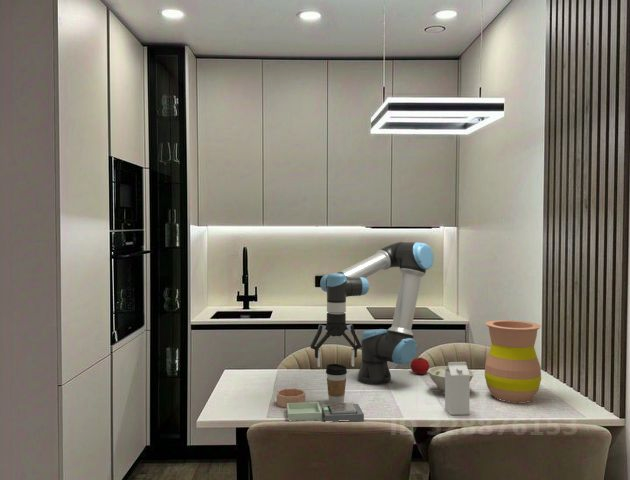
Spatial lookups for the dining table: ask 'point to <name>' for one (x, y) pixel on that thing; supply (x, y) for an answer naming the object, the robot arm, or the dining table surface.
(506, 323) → the vase
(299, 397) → the bin
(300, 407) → the green square tray
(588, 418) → the dining table surface
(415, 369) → the tomato
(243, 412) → the dining table surface
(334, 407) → the plate
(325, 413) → the frame
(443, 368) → the bowl
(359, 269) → the robot arm
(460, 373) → the milk carton
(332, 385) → the coffee cup
